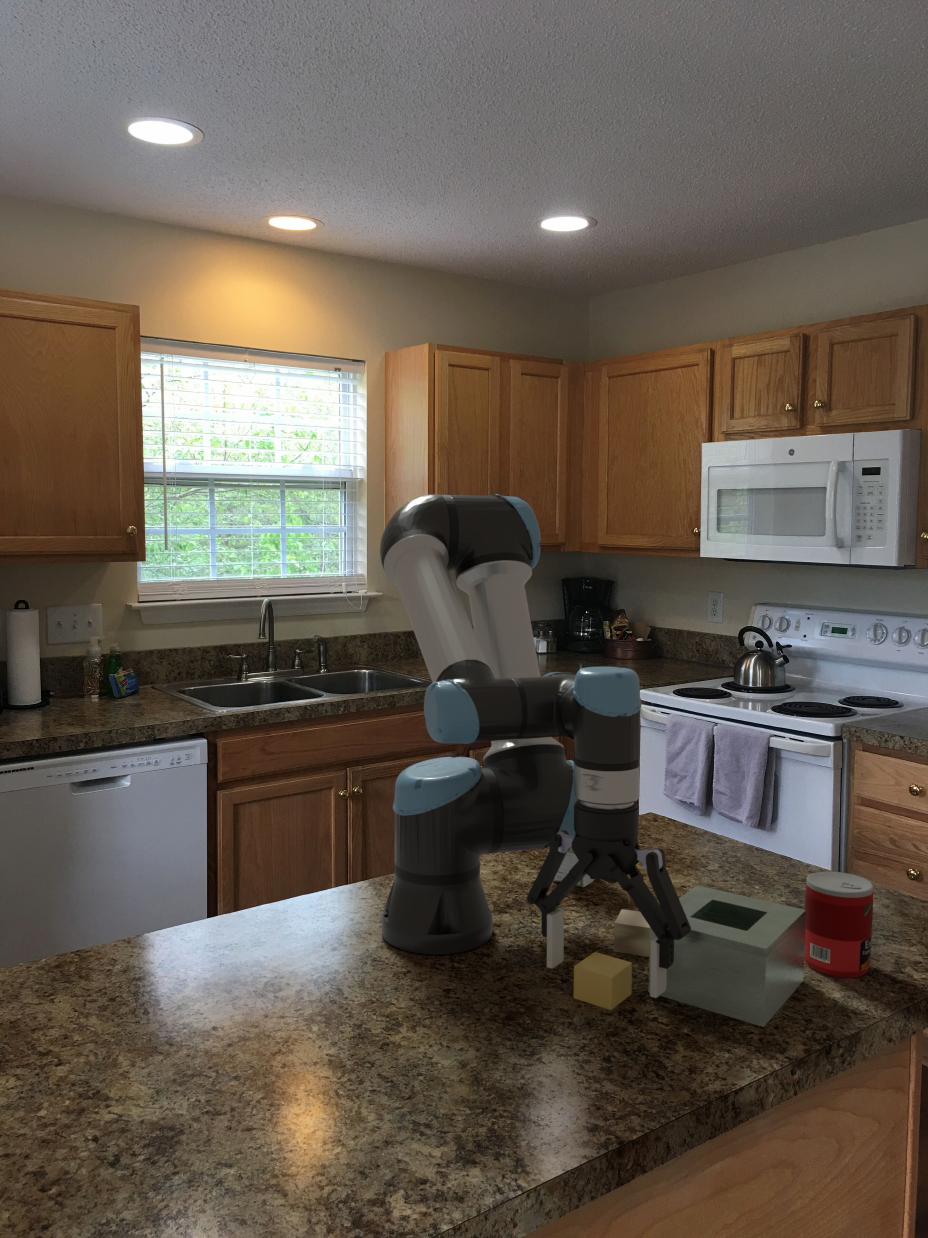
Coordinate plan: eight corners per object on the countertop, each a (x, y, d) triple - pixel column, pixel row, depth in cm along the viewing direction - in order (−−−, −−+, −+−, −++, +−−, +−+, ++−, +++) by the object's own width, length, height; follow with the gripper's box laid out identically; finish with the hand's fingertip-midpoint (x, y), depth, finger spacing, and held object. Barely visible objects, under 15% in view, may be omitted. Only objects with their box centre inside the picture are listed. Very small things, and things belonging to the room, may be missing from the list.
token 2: (613, 952, 131) (614, 923, 131) (621, 938, 136) (621, 909, 135) (651, 958, 129) (652, 928, 129) (658, 943, 134) (659, 914, 134)
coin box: (648, 992, 120) (650, 919, 119) (695, 952, 131) (697, 885, 130) (763, 1027, 111) (766, 949, 111) (803, 981, 123) (805, 910, 122)
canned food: (875, 982, 123) (879, 895, 122) (807, 976, 124) (810, 890, 123) (863, 955, 130) (867, 873, 129) (799, 950, 132) (802, 869, 131)
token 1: (573, 999, 118) (574, 966, 118) (594, 983, 122) (594, 952, 122) (611, 1011, 115) (611, 978, 115) (631, 995, 119) (632, 962, 119)
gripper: (499, 792, 121) (499, 963, 122) (694, 825, 106) (692, 1019, 108) (532, 780, 127) (532, 943, 128) (721, 810, 112) (718, 994, 114)
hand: (605, 978), depth 118 cm, fingers open, 13 cm apart
